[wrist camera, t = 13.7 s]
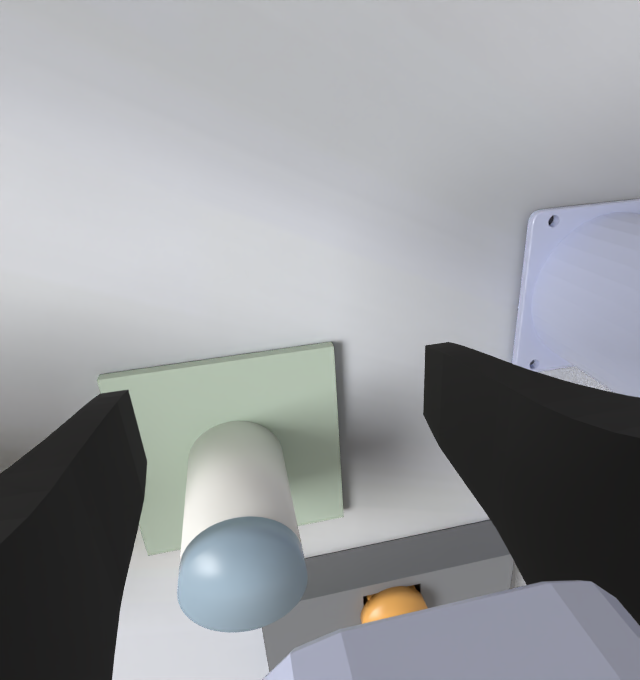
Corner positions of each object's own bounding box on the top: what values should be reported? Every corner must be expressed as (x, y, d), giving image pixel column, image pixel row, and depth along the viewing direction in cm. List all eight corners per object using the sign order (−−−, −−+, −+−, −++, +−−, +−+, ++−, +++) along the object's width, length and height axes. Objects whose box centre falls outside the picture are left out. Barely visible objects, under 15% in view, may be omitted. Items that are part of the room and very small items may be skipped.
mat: (331, 341, 22) (333, 346, 21) (341, 510, 26) (343, 516, 26) (99, 374, 20) (96, 380, 20) (149, 547, 25) (148, 555, 24)
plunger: (410, 550, 28) (430, 592, 25) (410, 593, 29) (428, 638, 27) (349, 563, 27) (363, 608, 25) (352, 607, 29) (365, 653, 26)
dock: (491, 519, 29) (515, 553, 26) (477, 649, 34) (495, 687, 31) (255, 569, 27) (258, 610, 24) (277, 700, 32) (281, 744, 29)
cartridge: (297, 435, 23) (328, 551, 17) (261, 505, 24) (277, 638, 18) (207, 409, 21) (204, 527, 15) (175, 486, 23) (159, 624, 16)
